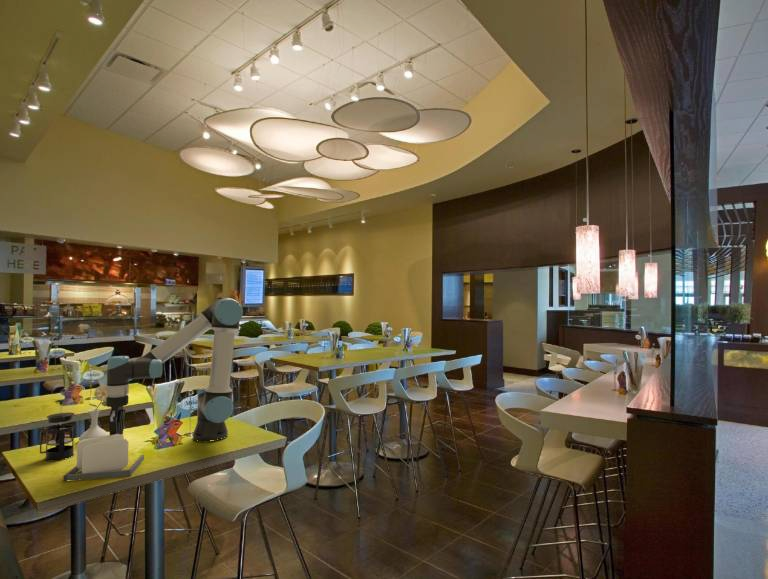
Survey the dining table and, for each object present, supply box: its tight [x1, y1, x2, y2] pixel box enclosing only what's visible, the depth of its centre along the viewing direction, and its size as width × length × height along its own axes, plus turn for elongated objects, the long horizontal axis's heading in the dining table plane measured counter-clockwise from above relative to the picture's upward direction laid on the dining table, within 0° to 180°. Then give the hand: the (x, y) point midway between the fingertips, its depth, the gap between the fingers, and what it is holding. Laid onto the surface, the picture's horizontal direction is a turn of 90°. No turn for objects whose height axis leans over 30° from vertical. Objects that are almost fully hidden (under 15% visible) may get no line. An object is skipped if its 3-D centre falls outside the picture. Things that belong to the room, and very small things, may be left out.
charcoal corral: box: [62, 454, 145, 482], centre depth 163 cm, size 21×17×2 cm
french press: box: [39, 398, 75, 461], centre depth 178 cm, size 12×9×23 cm
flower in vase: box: [78, 384, 110, 442], centre depth 201 cm, size 13×11×25 cm
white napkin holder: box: [75, 434, 129, 473], centre depth 163 cm, size 15×11×12 cm
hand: (116, 455), depth 174 cm, fingers closed
